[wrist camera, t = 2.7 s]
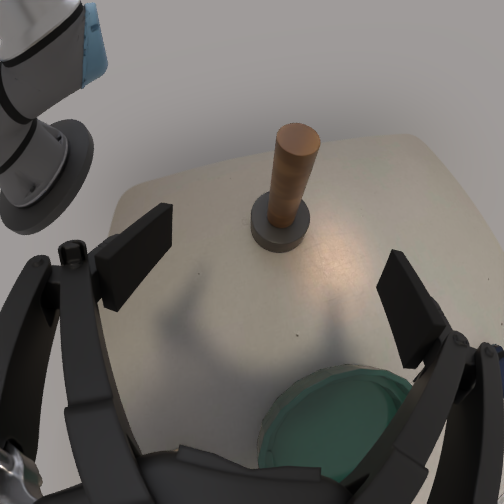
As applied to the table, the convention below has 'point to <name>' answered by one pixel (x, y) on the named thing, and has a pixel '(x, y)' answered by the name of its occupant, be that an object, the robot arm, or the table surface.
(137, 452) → the robot arm
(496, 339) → the table surface
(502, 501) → the ink box
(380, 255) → the table surface
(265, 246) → the wooden peg on stand
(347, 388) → the bowl
